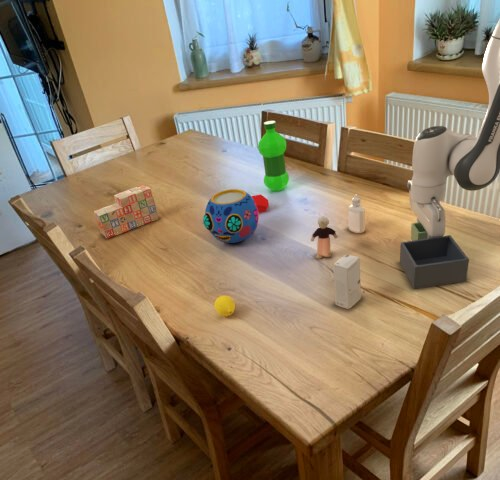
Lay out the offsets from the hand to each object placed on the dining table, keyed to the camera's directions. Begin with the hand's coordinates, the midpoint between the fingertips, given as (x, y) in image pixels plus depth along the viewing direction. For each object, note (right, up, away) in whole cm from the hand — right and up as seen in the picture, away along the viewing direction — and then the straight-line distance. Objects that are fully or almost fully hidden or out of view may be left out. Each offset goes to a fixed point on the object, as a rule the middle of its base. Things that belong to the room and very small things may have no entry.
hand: (425, 236), depth 142 cm
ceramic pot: (-55, +4, +24) cm, 60 cm away
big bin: (-1, -11, -9) cm, 14 cm away
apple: (-47, +17, +39) cm, 63 cm away
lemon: (-56, -23, -10) cm, 62 cm away
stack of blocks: (-95, +12, +45) cm, 106 cm away
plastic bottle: (-39, +29, +52) cm, 72 cm away
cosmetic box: (-25, -20, -13) cm, 34 cm away
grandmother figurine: (-28, -5, +7) cm, 29 cm away
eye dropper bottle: (-16, +5, +16) cm, 23 cm away
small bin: (0, -1, +1) cm, 2 cm away
